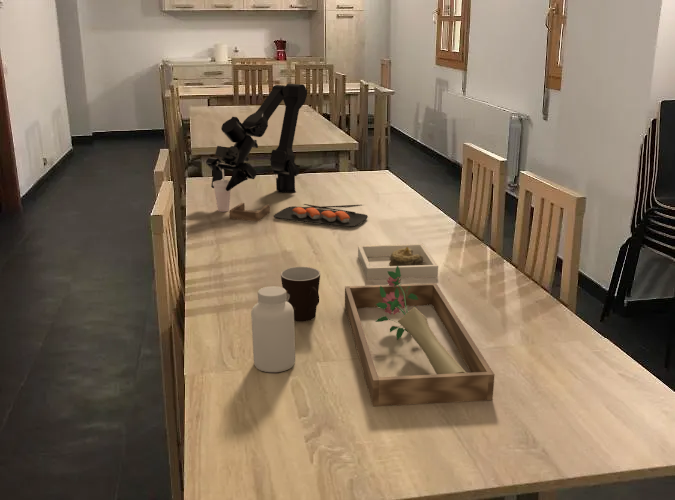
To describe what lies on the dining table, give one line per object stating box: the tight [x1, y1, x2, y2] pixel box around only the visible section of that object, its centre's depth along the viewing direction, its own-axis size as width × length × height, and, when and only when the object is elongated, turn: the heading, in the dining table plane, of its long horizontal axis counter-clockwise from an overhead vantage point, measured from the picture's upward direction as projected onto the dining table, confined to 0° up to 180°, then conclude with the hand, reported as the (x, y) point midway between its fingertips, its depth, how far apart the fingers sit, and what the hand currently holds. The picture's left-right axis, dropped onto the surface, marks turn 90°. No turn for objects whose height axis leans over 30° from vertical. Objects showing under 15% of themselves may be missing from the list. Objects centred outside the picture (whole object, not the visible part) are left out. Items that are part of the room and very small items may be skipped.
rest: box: [228, 202, 271, 222], centre depth 232 cm, size 10×10×3 cm
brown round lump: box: [388, 247, 426, 266], centre depth 188 cm, size 10×10×5 cm
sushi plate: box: [273, 203, 369, 228], centre depth 236 cm, size 29×30×4 cm
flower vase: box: [375, 265, 467, 374], centre depth 140 cm, size 12×12×35 cm
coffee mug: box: [280, 266, 321, 323], centre depth 154 cm, size 12×9×10 cm
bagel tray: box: [357, 243, 439, 281], centre depth 187 cm, size 18×18×3 cm
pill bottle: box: [250, 285, 296, 373], centre depth 134 cm, size 8×8×15 cm
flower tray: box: [344, 282, 495, 407], centre depth 142 cm, size 21×43×5 cm, turn 6°
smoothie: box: [213, 169, 232, 212], centre depth 237 cm, size 6×6×14 cm
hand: (219, 188), depth 236 cm, fingers closed on smoothie, 6 cm apart
